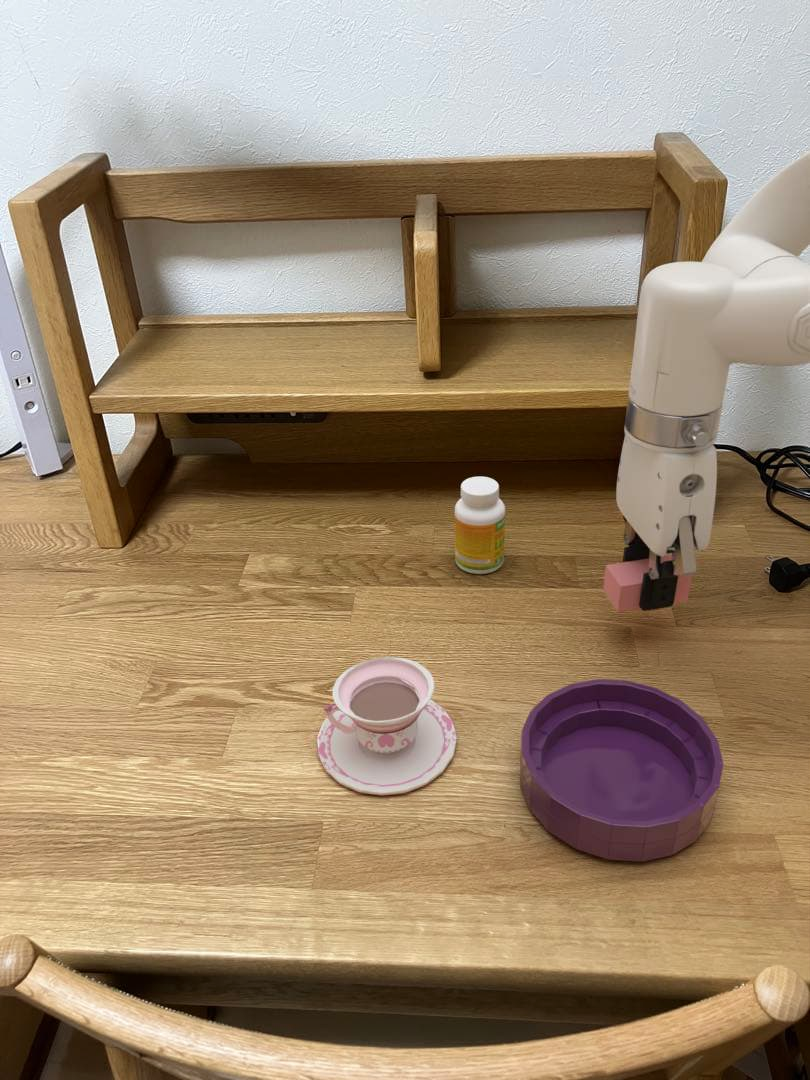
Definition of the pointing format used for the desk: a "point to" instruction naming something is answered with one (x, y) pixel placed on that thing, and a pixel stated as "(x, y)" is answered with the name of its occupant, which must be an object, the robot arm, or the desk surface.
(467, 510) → the supplement bottle
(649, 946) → the desk surface
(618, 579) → the eraser
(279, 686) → the desk surface
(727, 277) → the robot arm
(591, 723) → the bowl
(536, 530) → the desk surface
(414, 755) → the teacup
